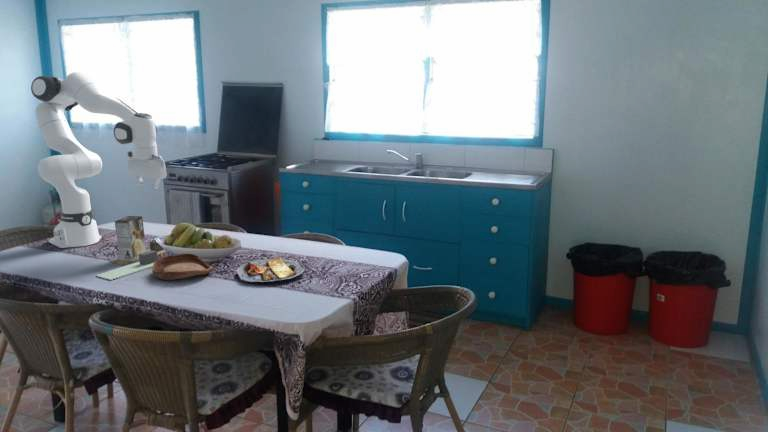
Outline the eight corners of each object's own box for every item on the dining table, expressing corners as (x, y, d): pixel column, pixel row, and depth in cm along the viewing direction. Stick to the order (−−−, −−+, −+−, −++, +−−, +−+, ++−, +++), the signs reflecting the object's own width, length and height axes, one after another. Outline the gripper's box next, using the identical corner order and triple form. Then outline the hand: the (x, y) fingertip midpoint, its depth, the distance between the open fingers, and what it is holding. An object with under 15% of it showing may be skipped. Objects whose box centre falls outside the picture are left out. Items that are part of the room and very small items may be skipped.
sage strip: (95, 276, 222) (94, 264, 221) (148, 260, 241) (146, 249, 239) (111, 280, 217) (109, 268, 216) (163, 263, 236) (162, 252, 235)
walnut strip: (110, 261, 239) (108, 250, 238) (157, 247, 257) (156, 237, 256) (124, 265, 234) (123, 254, 233) (172, 250, 253) (171, 240, 252)
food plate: (231, 268, 229) (231, 259, 228) (292, 260, 238) (292, 252, 237) (244, 291, 207) (244, 281, 206) (310, 282, 216) (310, 272, 215)
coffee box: (132, 253, 247) (128, 215, 243) (147, 254, 246) (142, 216, 242) (119, 260, 238) (114, 220, 235) (133, 261, 237) (129, 221, 233)
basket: (223, 274, 223) (222, 262, 222) (171, 289, 209) (170, 275, 208) (192, 261, 238) (191, 249, 237) (142, 274, 225) (141, 261, 223)
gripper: (169, 155, 246) (171, 188, 250) (137, 150, 257) (140, 182, 260) (155, 157, 241) (158, 191, 245) (124, 152, 252) (127, 184, 255)
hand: (148, 186), depth 253 cm, fingers open, 8 cm apart
